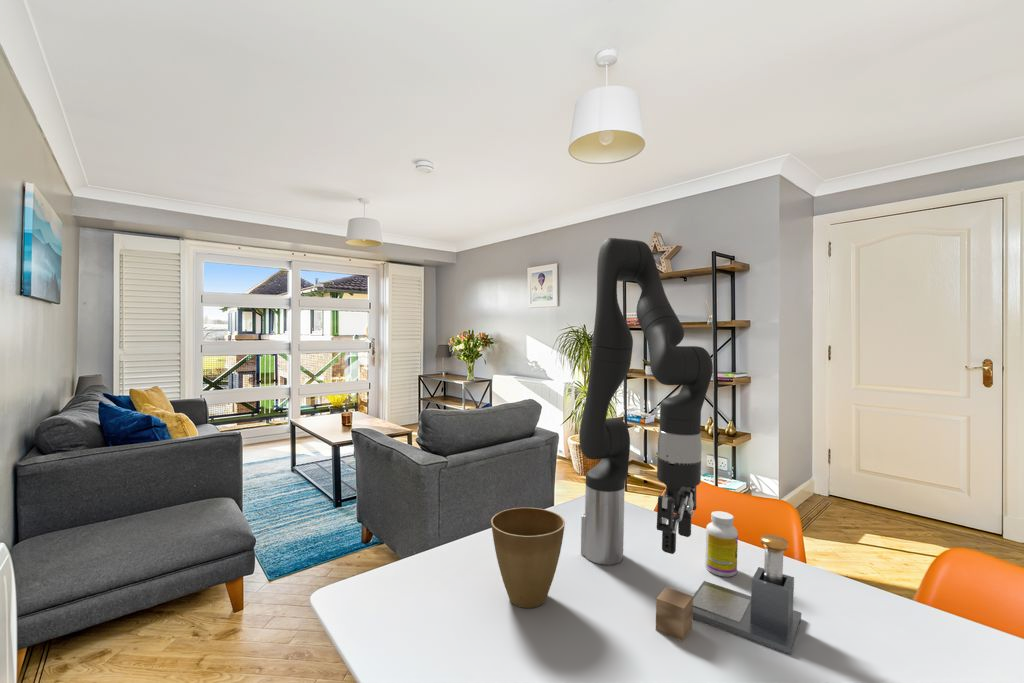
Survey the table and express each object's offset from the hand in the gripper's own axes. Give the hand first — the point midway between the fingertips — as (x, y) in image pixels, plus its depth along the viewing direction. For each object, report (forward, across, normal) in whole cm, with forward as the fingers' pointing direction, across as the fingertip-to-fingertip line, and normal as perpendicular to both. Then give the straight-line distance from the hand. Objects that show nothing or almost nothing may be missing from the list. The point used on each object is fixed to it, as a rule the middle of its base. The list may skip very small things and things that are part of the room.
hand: (676, 543), depth 88 cm
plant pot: (+16, +9, -27) cm, 33 cm away
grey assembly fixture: (+16, -12, +9) cm, 22 cm away
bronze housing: (+16, 0, 0) cm, 16 cm away
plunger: (+10, -12, +14) cm, 21 cm away
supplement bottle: (+16, -28, +1) cm, 32 cm away
